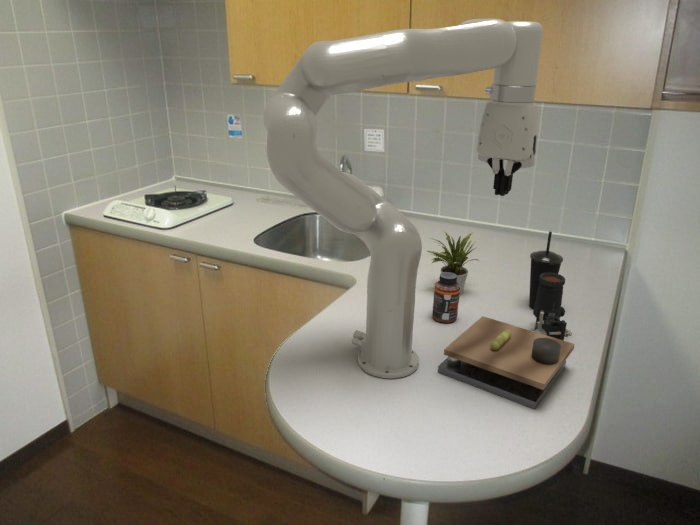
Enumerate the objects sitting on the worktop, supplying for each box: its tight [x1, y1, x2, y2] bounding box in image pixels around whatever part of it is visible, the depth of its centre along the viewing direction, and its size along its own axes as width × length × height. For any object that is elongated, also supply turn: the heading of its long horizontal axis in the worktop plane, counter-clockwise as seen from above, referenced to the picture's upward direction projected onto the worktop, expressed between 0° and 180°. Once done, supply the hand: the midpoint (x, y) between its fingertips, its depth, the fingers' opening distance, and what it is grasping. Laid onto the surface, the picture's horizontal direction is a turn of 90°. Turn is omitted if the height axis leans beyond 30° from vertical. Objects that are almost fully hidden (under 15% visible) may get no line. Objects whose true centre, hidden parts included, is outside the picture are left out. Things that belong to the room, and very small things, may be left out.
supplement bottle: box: [432, 272, 460, 324], centre depth 136 cm, size 6×6×11 cm
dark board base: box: [437, 356, 567, 410], centre depth 117 cm, size 20×18×4 cm
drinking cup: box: [528, 231, 564, 311], centre depth 141 cm, size 8×8×20 cm
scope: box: [533, 273, 573, 341], centre depth 129 cm, size 8×14×10 cm
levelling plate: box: [443, 315, 575, 390], centre depth 114 cm, size 20×18×4 cm
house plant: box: [427, 230, 481, 296], centre depth 150 cm, size 14×14×16 cm
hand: (501, 193), depth 110 cm, fingers closed
